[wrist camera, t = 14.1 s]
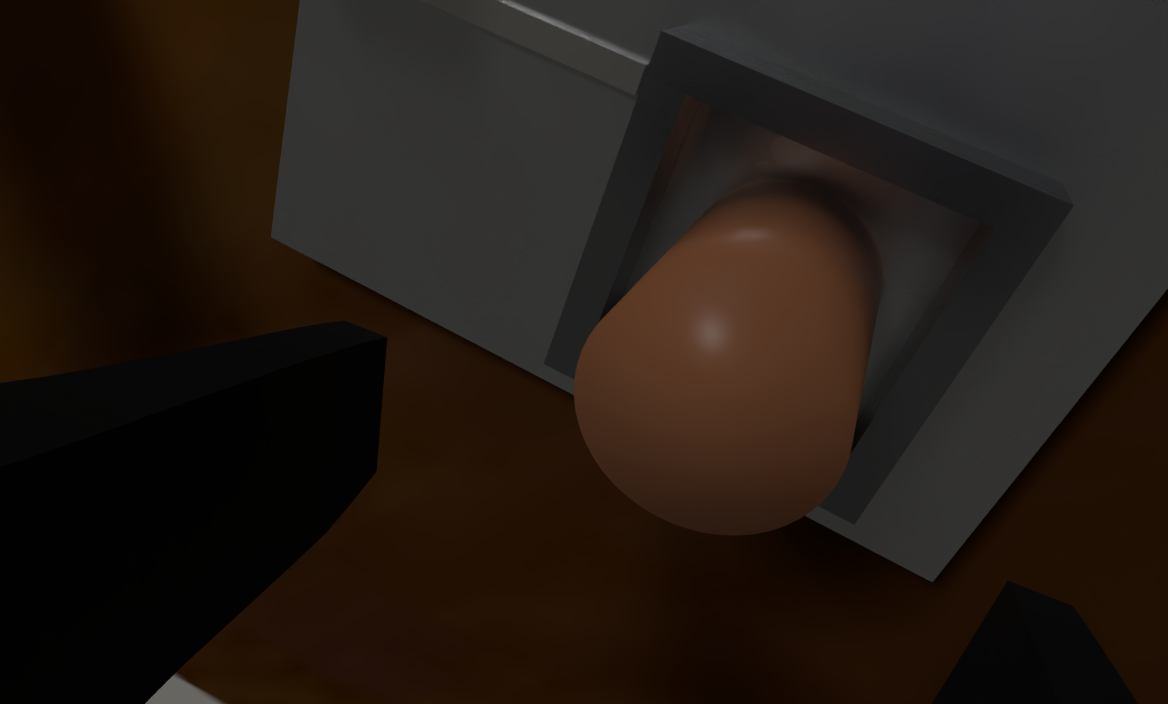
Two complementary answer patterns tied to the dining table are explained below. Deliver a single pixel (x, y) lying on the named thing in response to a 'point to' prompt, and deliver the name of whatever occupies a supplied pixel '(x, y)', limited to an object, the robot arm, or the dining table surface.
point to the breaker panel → (755, 154)
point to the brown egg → (737, 363)
